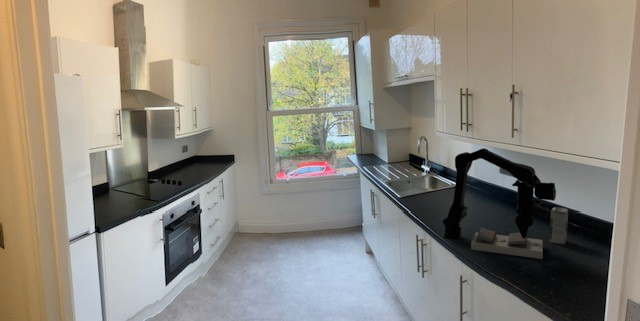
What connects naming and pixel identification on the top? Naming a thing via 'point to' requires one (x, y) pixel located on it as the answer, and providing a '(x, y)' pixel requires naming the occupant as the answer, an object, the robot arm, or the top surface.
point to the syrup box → (558, 225)
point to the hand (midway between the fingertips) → (524, 234)
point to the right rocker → (516, 239)
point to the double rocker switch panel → (508, 246)
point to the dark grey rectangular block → (486, 234)
